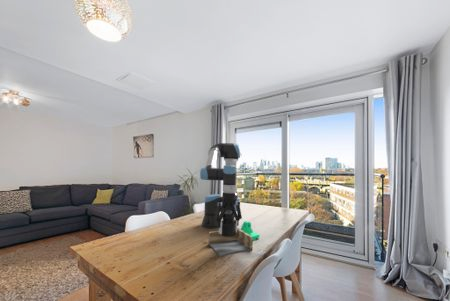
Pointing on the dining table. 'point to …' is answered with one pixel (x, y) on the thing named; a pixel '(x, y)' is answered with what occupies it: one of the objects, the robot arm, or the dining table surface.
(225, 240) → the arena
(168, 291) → the dining table surface
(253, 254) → the dining table surface
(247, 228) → the camera mount
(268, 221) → the dining table surface
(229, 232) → the ink bottle
